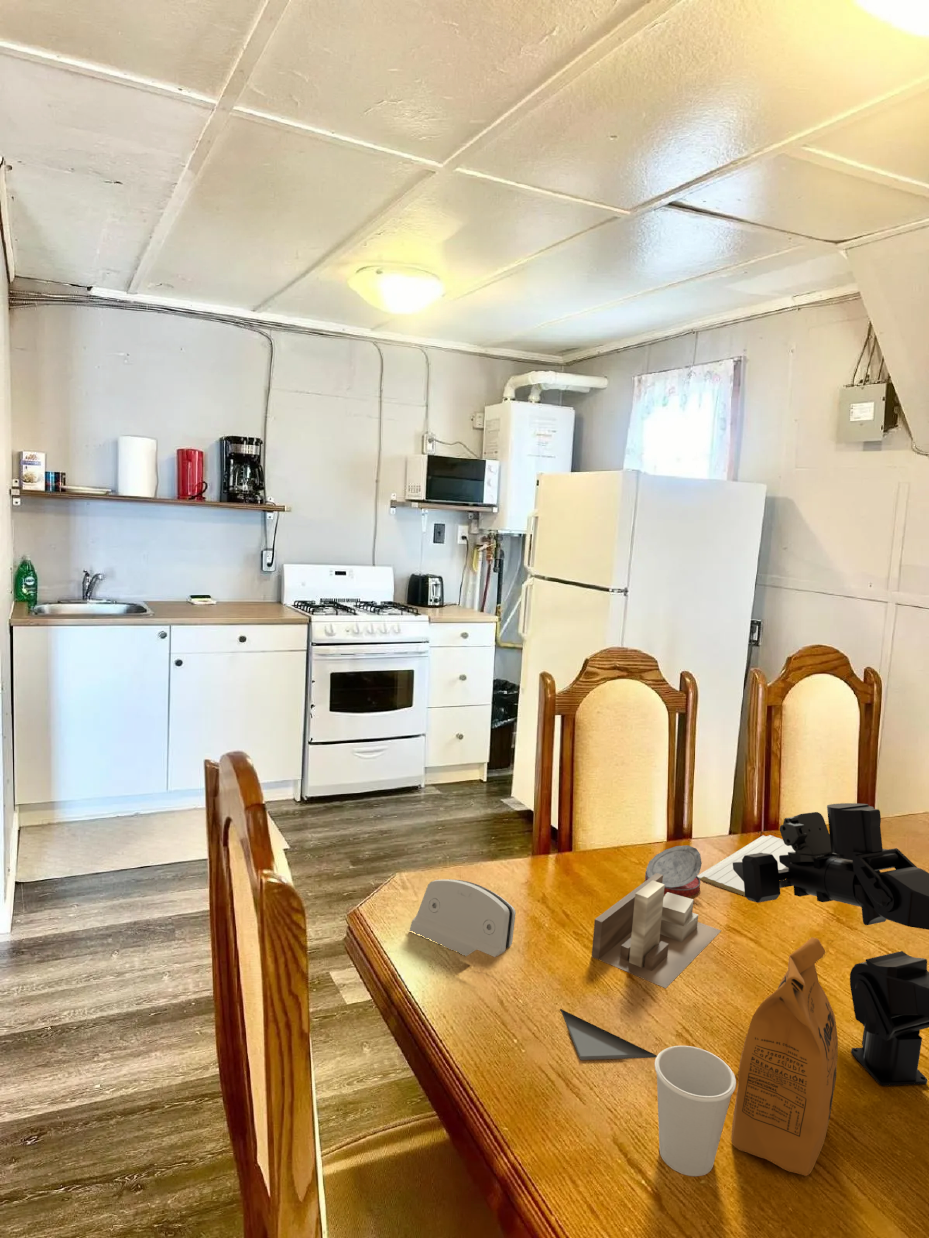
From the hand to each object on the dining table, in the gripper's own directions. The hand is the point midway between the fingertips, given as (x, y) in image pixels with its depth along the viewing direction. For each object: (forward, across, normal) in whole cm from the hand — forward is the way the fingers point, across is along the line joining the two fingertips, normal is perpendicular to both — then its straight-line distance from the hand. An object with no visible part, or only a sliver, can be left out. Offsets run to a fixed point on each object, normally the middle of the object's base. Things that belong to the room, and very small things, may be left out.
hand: (757, 862), depth 124 cm
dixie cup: (-23, +34, +24) cm, 47 cm away
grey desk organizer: (+11, +12, +14) cm, 21 cm away
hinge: (+23, +40, +11) cm, 47 cm away
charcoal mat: (-3, +30, +18) cm, 35 cm away
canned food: (+27, -3, +10) cm, 29 cm away
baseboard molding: (+32, -28, +9) cm, 44 cm away
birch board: (+8, +17, +13) cm, 23 cm away
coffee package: (-24, +22, +24) cm, 41 cm away
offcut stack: (+13, +7, +12) cm, 19 cm away
